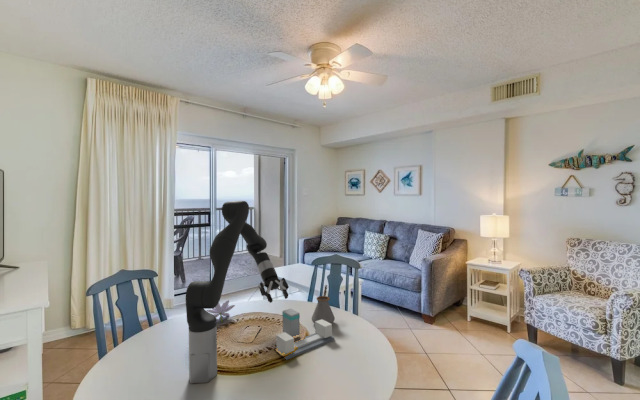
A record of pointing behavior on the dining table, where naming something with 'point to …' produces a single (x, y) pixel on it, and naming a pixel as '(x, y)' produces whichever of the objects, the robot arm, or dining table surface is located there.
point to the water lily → (221, 310)
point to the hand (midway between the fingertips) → (279, 299)
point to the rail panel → (305, 340)
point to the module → (291, 322)
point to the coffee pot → (323, 309)
